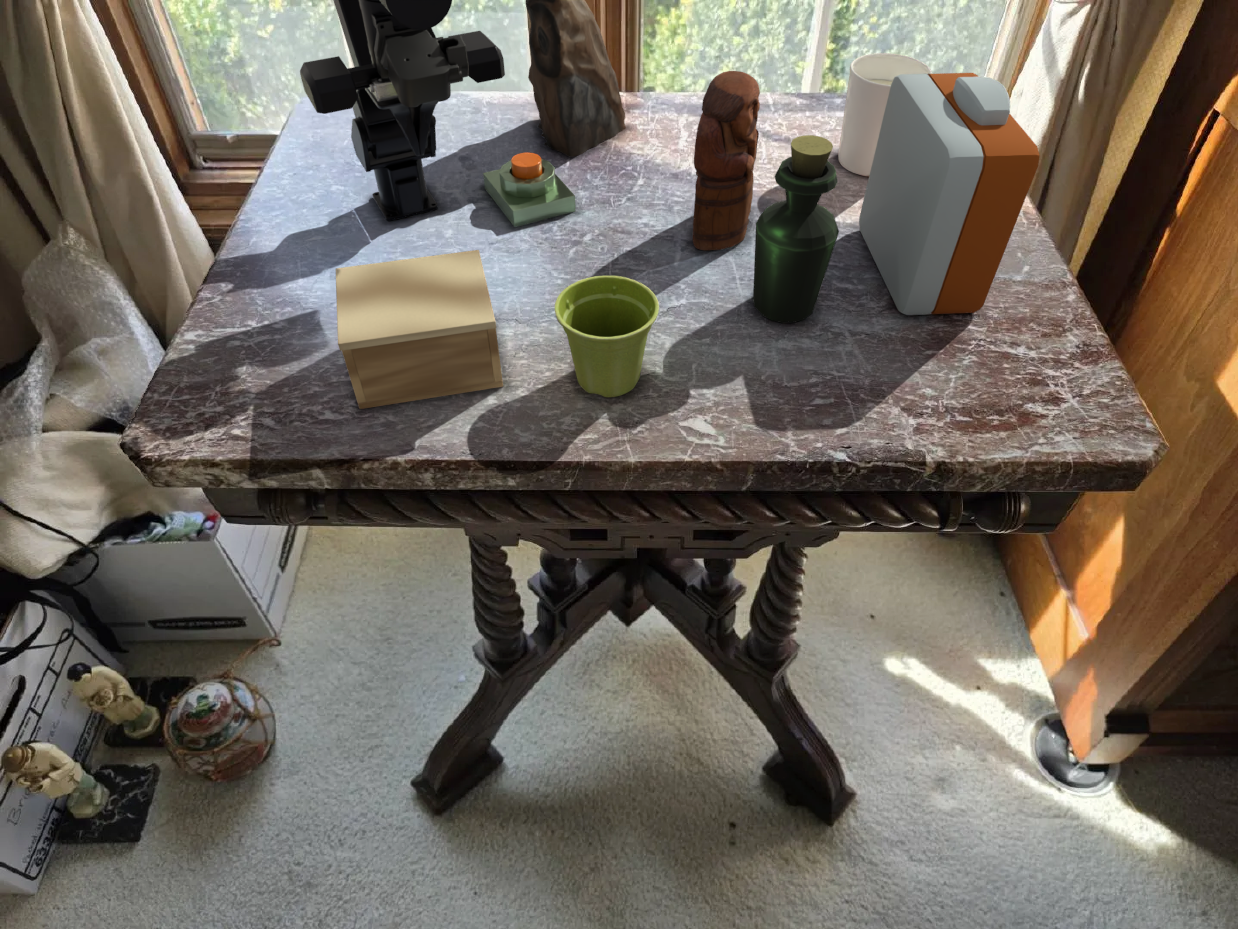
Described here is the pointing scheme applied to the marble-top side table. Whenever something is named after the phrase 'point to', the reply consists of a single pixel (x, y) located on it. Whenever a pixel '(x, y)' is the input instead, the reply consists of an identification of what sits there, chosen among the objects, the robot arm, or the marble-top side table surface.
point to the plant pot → (607, 331)
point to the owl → (572, 77)
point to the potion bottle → (796, 234)
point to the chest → (424, 368)
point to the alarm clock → (945, 190)
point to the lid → (412, 300)
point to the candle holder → (869, 105)
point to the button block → (529, 194)
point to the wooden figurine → (725, 161)
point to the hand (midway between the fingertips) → (419, 153)
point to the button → (526, 165)
